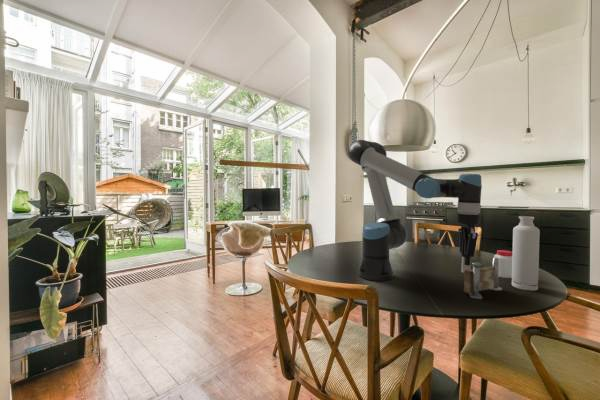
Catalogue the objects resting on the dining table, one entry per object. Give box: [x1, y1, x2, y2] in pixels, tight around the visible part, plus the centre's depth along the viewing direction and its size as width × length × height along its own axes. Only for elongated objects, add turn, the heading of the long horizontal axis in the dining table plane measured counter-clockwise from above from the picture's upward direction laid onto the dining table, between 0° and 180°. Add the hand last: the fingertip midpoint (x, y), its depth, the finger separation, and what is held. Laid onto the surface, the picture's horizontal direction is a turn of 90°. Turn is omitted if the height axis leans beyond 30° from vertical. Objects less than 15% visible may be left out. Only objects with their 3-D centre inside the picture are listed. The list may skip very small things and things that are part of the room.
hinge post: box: [489, 257, 503, 292], centre depth 105 cm, size 4×4×12 cm
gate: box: [463, 266, 495, 294], centre depth 102 cm, size 15×2×8 cm, turn 113°
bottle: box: [511, 215, 541, 292], centre depth 107 cm, size 8×8×28 cm
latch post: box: [468, 261, 483, 300], centre depth 98 cm, size 4×4×12 cm
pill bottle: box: [493, 249, 512, 279], centre depth 122 cm, size 8×8×11 cm
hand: (465, 272), depth 107 cm, fingers closed
